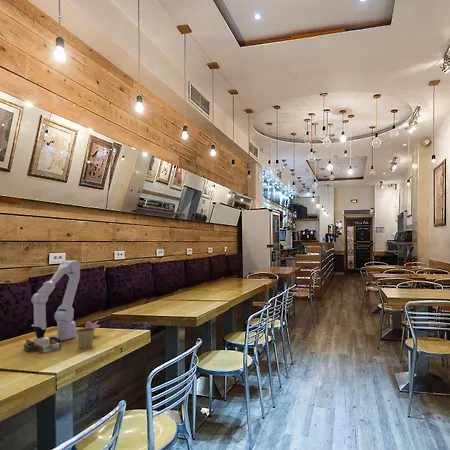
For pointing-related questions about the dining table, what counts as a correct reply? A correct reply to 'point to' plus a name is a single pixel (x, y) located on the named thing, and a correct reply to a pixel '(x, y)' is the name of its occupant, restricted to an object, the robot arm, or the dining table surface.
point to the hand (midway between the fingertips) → (40, 341)
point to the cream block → (42, 341)
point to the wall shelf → (54, 346)
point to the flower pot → (85, 337)
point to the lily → (92, 325)
